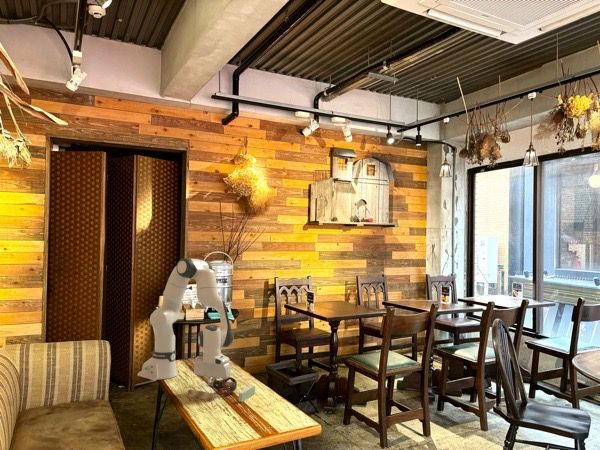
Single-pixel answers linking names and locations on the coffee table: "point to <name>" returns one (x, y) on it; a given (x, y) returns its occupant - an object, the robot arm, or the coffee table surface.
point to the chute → (206, 394)
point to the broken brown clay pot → (225, 385)
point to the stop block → (246, 393)
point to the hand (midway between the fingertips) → (211, 385)
